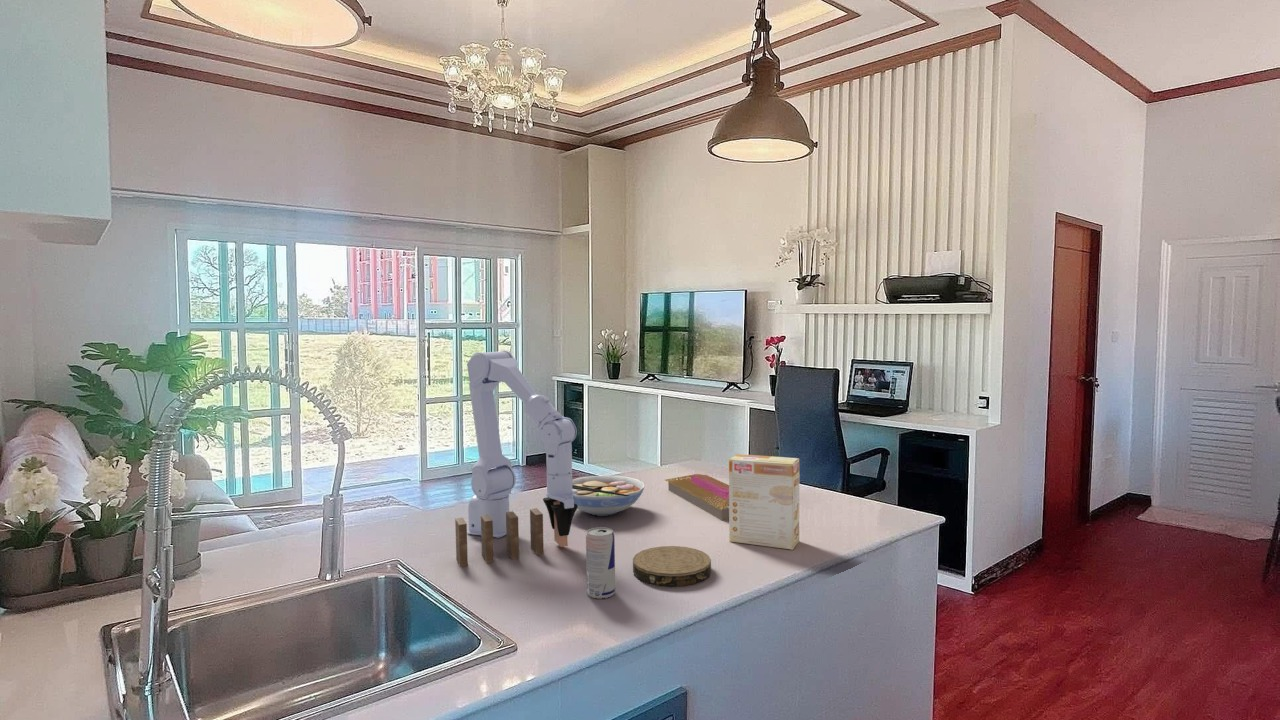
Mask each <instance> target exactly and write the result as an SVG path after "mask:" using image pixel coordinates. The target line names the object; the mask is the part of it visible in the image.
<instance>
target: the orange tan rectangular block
mask: <svg viewBox="0 0 1280 720" xmlns="http://www.w3.org/2000/svg"><path fill="white" fill-rule="evenodd" d="M557 504H560V501H556V502H554V505H557ZM553 532H554V534H553V535H554V537H553V538H554V539H553V540H554V542H555V543H556V544H557V545H558V546H559V547H560V548H563V547H568V535H565V536H559V533H558V528H557V521H556V517H555V514H554V529H553Z"/></svg>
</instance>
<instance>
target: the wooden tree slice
mask: <svg viewBox="0 0 1280 720" xmlns="http://www.w3.org/2000/svg"><path fill="white" fill-rule="evenodd" d="M711 568H712V559H711V557H710V556H709V555H708V554H707V553H706V552H704V551H702V550H699V549H696V548H693V547H687V546H680V545H679V546H676V545H665V546H656V547H650V548H647V549H643V550H641V551H639V552H638V553H636V554H635V555H634V556H633V558H632V572H633V573H634V574H633V576H634V578H636V580H637V581H639V580H640V581H639V582H642V583H644V582H645V583H644V584H646V583H647V584H646V585H650V584H651V585H650V586H654V585H655V586H656V587H663V588H684V587H685V588H686V587H690V586H696V585H698V584H701V583H704V582H705V581H706V580H707V579H709V578H710V576H711V573H712V569H711Z"/></svg>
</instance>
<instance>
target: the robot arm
mask: <svg viewBox="0 0 1280 720" xmlns="http://www.w3.org/2000/svg"><path fill="white" fill-rule="evenodd" d="M466 368H467V374H468V380H469V382H468V383H469V384H468V385H469V386H468V388H469V395H470V402H471V409H472V414H473V415H472V416H473V423H474V428H475V429H474V430H475V436H476V442H477V449H478V456H479V457H478V460H477V461H476V462H475V463H474V465H473V466H472V467H471V473H472V474H471V481H470V483H471V485H470V487H471V490H472V492H473V494H474V495H473V496H472V497H470V498H471V499H469V503H468V509H467V510H468V530H467V535H475V536H481V515H487V514H488V515H489V516H490V518H491V519H492V520H493V538H498V539H499V538H502V537H504V536H506V512H510V494H512V489H514V487H515V486H516V482H517V481H516V480H517V477H516V474H515V471H514V470H513V467H512V464H511V460H510V459H509V458H507V457H506V456H505V455H504V454H503V452H502V451H503V450H502V443H501V438H500V436H501V435H500V429H499V424H498V423H499V422H498V416H497V410H496V403H495V395H494V391H495V389H496V387H497V386H498V385H499V384H500V383H505V384H506V386H507V387H508V388H509V389H510V390H511V391H512V392H513V393H514V394H515V395H516V396H517V398H518V399H520V400H521V401H522V402H523V404H524V408H523V409H524V413H525V414H526V415H527V416H528V417H529V419H530V420H531V421H532V423H534V425H535V426H536V427H537V428H538V429H539V431H540V432H539V436H540V437H539V438H540V440H541V442H542V444H543V446H544V447H543V448H544V449H543V450H544V452H545V456H546V457H545V458H546V459H545V460H546V463H545V464H546V492H545V496H546V497H544V498H542V502H544V504H545V506H546V509H547V513H548V516H549V517H548V518H549V522H550V526H551V529H552V530H554V514H555V517H556V521H557V528H558V533H559V536H565V535H567V536H569V534H570V531H571V526H572V522H573V519H574V516H575V513H576V511H578V509H577V507H578V505H577V504H574V499H573V495H574V494H577V490H576V489H572V479H573V453H572V452H573V446H572V443H573V442H574V441H575V439H576V438H577V435H578V434H577V433H578V431H577V427H576V424H575V423H574V421H573V419H572V418H570V417H567V416H566V417H565V416H564V415H562V414H561V413H560V412H559V411H558V410H557V409H556V407H555V406H553V404H552V403H551V401H550V400H551V399H550V398H549V397H548V396H545V395H543V394H537V393H536V391H535V390H534V389H533V387H532V385H531V384H530V383H529V382H528V380H527V378H526V377H525V376H524V375H523V373H522V372H521V370H520V369H519V368H518V360H517V359H516V358H515V357H514V356H513V354H512V353H511V352H510V351H508V350H501V351H489V352H488V351H487V352H479V351H478V352H475V353H473V355H472V356H471V357H470V358H469V360H468V362H467V363H466ZM556 501H560V504H557V505H554V502H556Z"/></svg>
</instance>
